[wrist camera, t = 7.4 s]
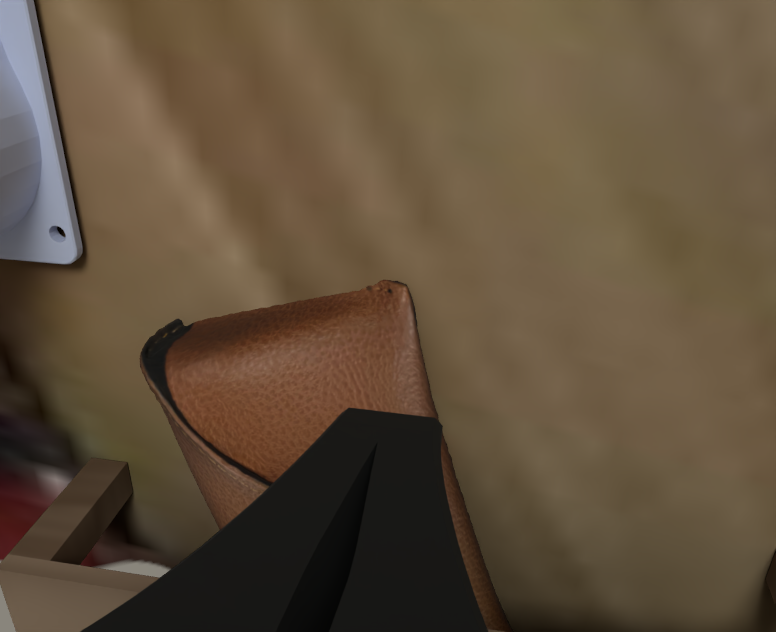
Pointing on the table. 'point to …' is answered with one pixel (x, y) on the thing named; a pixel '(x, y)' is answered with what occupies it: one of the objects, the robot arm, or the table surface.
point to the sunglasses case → (296, 396)
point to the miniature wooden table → (69, 548)
